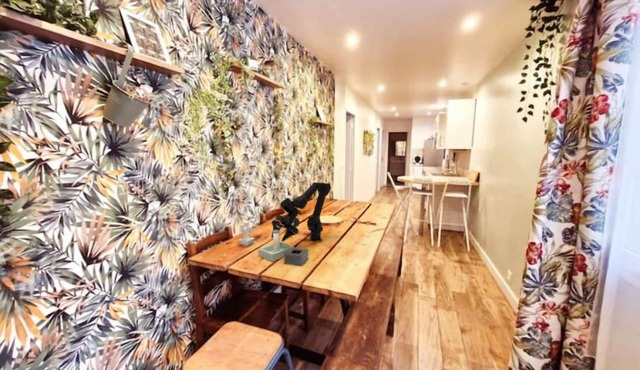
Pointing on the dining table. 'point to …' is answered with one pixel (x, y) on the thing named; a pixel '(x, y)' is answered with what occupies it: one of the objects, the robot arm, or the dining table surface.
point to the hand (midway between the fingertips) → (276, 239)
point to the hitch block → (296, 256)
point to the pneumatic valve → (296, 222)
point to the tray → (269, 255)
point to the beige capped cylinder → (276, 241)
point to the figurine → (246, 234)
